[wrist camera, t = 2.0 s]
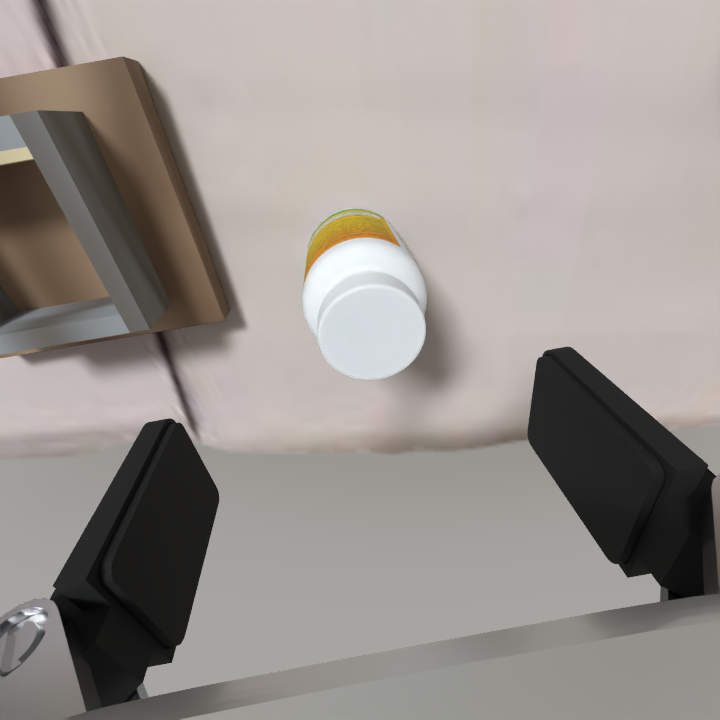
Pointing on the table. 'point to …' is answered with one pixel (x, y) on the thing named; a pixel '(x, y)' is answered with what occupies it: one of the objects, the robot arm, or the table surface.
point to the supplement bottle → (363, 295)
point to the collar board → (94, 214)
